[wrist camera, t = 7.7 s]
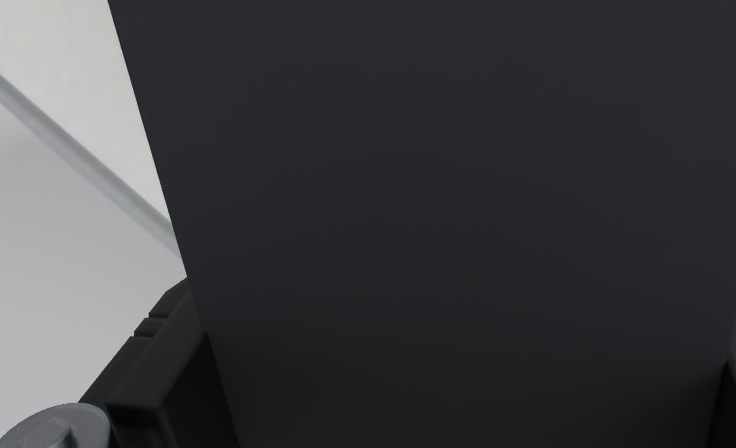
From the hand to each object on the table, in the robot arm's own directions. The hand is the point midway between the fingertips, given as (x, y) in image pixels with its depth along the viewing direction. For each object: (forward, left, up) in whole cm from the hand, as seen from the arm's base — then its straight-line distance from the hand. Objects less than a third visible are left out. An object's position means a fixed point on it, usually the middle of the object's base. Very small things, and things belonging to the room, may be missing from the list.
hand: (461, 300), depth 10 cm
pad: (0, +2, -1) cm, 3 cm away
